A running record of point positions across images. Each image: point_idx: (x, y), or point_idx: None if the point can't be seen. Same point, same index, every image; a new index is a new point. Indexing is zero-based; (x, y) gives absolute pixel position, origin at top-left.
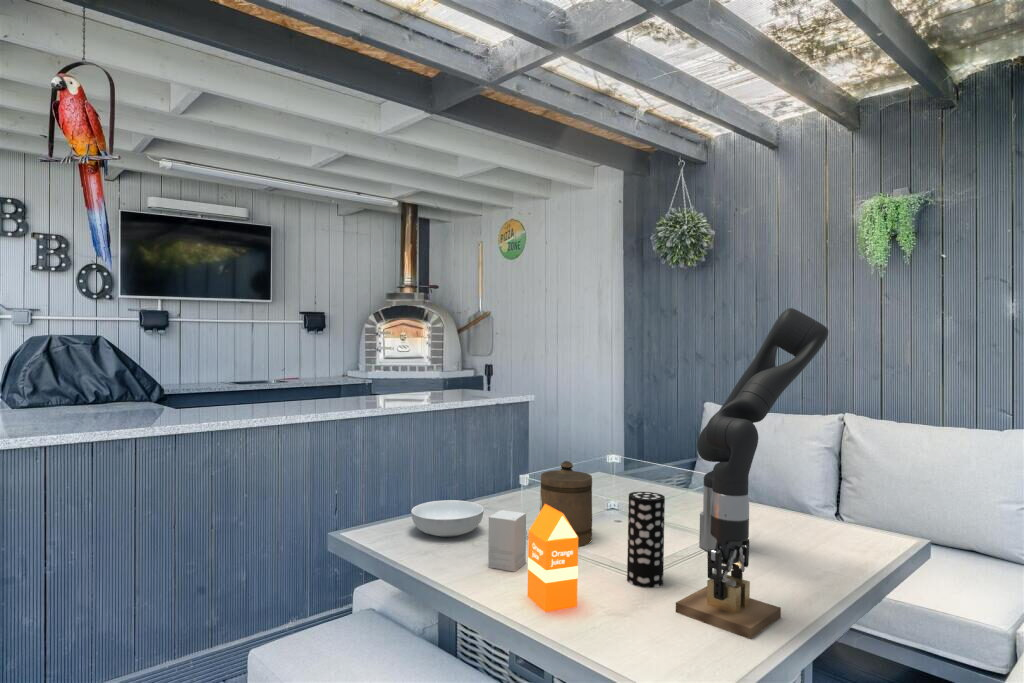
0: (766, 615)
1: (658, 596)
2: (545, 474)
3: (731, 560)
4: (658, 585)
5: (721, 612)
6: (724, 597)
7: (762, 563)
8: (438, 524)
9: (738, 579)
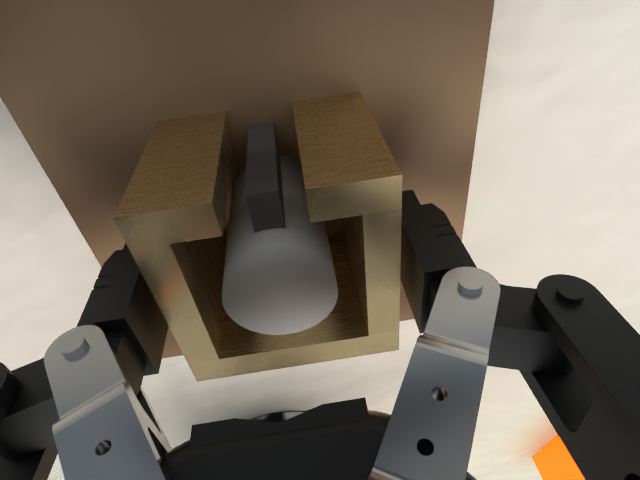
0: None
1: (356, 373)
2: None
3: (439, 458)
4: (286, 415)
5: (401, 153)
6: (404, 197)
7: None
8: None
9: (179, 282)
